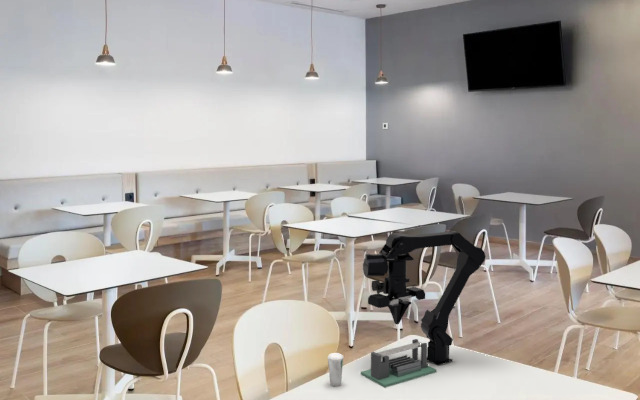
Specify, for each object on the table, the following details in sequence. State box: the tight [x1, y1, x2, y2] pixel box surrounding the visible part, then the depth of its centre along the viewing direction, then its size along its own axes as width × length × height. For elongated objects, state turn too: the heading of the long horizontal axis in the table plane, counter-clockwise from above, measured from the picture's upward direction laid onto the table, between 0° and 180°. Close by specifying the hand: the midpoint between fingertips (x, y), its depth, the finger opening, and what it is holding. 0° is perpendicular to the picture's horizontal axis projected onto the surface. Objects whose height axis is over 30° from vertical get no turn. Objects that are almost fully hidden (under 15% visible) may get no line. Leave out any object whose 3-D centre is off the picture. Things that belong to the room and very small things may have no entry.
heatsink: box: [389, 354, 421, 377], centre depth 185 cm, size 9×7×3 cm
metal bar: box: [376, 340, 423, 362], centre depth 184 cm, size 17×2×2 cm, turn 123°
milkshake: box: [327, 352, 344, 387], centre depth 177 cm, size 4×5×10 cm
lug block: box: [370, 351, 390, 380], centre depth 180 cm, size 4×4×7 cm
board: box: [360, 357, 438, 388], centre depth 185 cm, size 20×12×1 cm, turn 123°
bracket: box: [411, 338, 429, 369], centre depth 189 cm, size 2×5×8 cm, turn 33°
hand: (396, 324), depth 191 cm, fingers closed
